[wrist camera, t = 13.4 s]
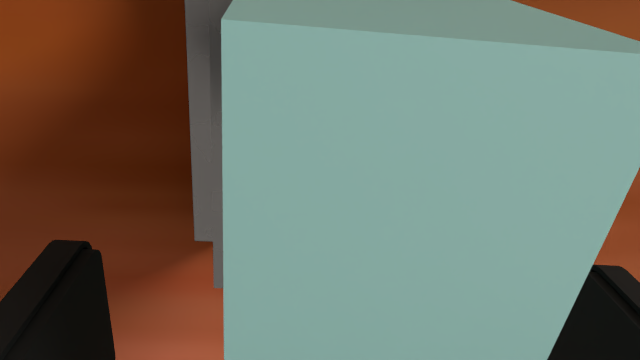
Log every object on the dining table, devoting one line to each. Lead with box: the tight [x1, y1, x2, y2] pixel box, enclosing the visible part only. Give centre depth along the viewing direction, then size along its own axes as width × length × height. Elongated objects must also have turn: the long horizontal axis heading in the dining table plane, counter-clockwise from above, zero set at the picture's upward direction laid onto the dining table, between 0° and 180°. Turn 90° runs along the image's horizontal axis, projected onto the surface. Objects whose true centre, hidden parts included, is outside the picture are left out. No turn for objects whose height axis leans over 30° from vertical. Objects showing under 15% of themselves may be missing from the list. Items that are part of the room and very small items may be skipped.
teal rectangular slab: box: [221, 0, 640, 360], centre depth 11 cm, size 2×10×15 cm, turn 175°
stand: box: [185, 0, 233, 288], centre depth 17 cm, size 8×14×4 cm, turn 174°
